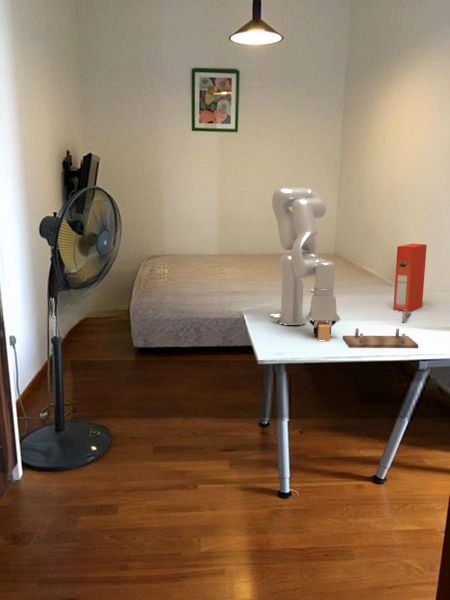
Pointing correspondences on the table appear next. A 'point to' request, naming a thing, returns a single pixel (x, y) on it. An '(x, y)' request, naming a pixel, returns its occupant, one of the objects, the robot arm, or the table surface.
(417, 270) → the file binder
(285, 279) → the robot arm
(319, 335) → the jaw block
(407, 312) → the caliper
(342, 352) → the table surface
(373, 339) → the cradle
